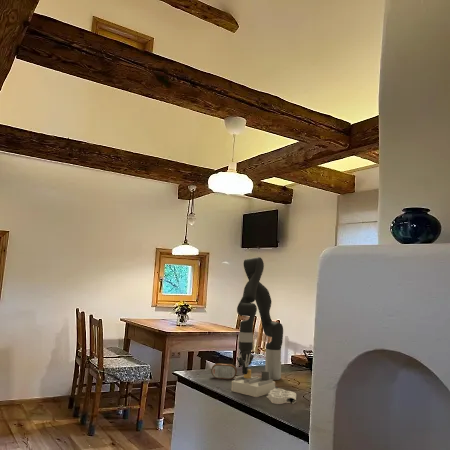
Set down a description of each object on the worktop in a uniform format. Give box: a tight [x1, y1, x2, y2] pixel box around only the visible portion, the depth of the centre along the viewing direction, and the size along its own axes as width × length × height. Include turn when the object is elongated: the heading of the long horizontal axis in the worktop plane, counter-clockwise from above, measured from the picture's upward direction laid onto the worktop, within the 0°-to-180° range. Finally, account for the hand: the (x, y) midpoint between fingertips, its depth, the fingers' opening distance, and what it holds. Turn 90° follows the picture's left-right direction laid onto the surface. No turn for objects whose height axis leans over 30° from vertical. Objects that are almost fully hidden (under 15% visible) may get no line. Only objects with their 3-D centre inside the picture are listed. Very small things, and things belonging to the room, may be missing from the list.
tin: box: [210, 362, 238, 380], centre depth 262 cm, size 15×3×8 cm, turn 84°
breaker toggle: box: [243, 369, 252, 379], centre depth 239 cm, size 3×4×5 cm
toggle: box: [260, 370, 270, 381], centre depth 236 cm, size 3×4×5 cm
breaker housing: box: [230, 374, 276, 398], centre depth 235 cm, size 17×16×6 cm
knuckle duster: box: [266, 388, 297, 405], centre depth 222 cm, size 3×18×15 cm
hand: (244, 373), depth 237 cm, fingers closed
